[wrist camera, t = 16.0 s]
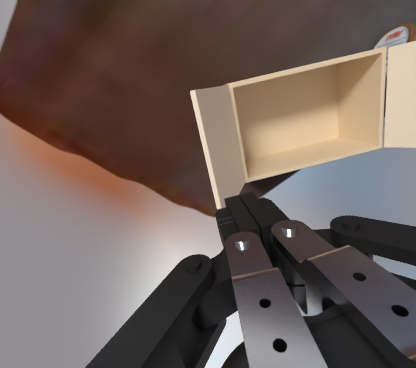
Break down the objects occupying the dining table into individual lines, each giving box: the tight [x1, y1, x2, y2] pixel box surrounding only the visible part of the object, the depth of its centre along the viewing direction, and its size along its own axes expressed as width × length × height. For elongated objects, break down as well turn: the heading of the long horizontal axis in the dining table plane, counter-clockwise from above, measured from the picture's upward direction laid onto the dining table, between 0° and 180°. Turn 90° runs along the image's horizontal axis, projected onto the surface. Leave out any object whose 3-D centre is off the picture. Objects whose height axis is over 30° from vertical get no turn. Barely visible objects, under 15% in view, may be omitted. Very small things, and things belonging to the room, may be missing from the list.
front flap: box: [190, 85, 245, 209], centre depth 27 cm, size 11×14×1 cm
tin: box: [372, 22, 416, 118], centre depth 38 cm, size 15×3×8 cm, turn 165°
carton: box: [223, 47, 387, 183], centre depth 37 cm, size 22×14×10 cm, turn 103°
